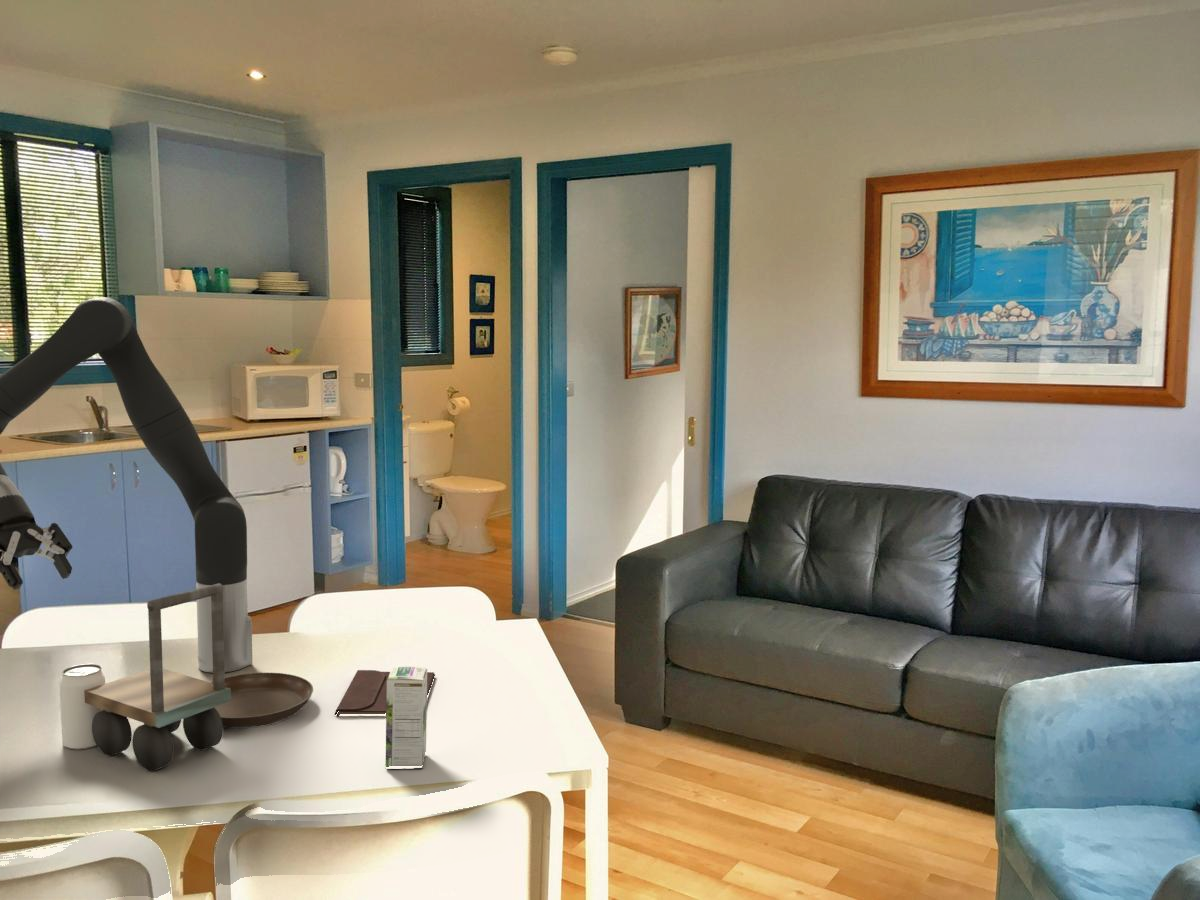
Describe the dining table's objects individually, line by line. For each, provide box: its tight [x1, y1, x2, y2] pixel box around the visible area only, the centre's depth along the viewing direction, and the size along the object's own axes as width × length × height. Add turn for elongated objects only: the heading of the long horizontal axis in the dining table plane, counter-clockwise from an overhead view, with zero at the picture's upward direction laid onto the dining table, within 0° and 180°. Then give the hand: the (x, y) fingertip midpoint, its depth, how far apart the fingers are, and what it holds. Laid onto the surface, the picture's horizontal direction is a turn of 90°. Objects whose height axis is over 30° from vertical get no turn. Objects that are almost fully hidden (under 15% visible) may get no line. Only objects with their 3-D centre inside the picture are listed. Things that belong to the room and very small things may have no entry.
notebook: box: [334, 669, 436, 716], centre depth 188 cm, size 15×20×2 cm
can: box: [59, 663, 106, 750], centre depth 164 cm, size 6×6×12 cm
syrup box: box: [385, 665, 428, 767], centre depth 159 cm, size 6×6×14 cm
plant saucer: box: [210, 672, 314, 729], centre depth 180 cm, size 21×21×3 cm
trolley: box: [84, 583, 231, 772], centre depth 160 cm, size 18×13×27 cm
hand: (44, 581), depth 174 cm, fingers open, 8 cm apart
